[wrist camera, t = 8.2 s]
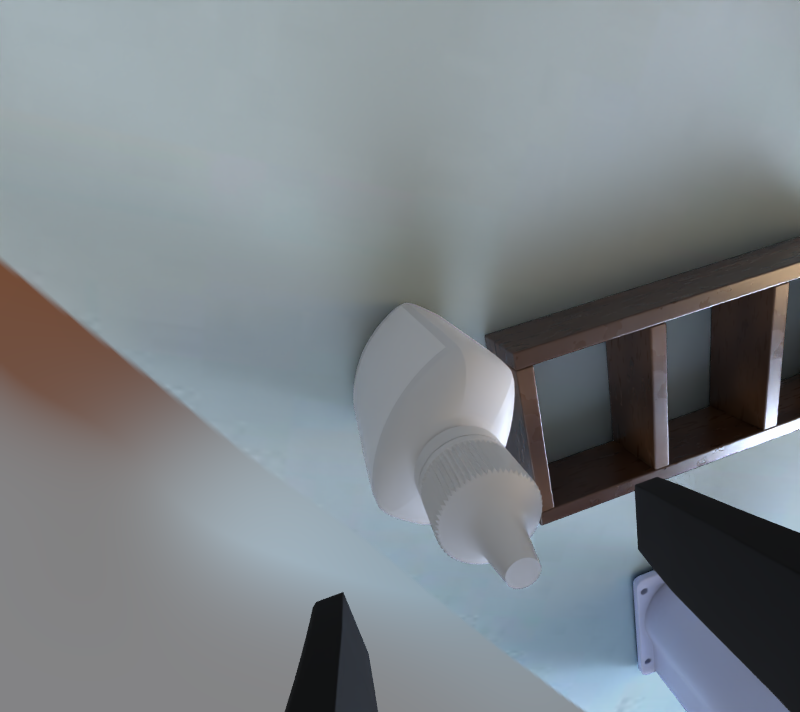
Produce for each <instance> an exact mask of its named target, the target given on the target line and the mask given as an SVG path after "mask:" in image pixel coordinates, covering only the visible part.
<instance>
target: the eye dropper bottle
mask: <svg viewBox="0 0 800 712" xmlns="http://www.w3.org/2000/svg"><path fill="white" fill-rule="evenodd" d="M514 397H515V387H514V379H513V375H512V372H511V370H510V369H509V367H508V366H507V365H506V364H505V363H504V362H503V361H502V360H501V359H499V358H498V357H497V356H495V355H494V354H493V353H492V352H490V351H489V350H488V349H486V348H485V347H483V346H482V345H481V344H479V343H478V342H476V341H475V340H474V339H472V338H471V337H469V336H468V335H467V334H465V333H464V332H462V331H461V330H460V329H458V328H457V327H455V326H454V325H452V324H451V323H450V322H448V321H447V320H445V319H444V318H442V317H441V316H439V315H437V314H435V313H433V312H431V311H429V310H427V309H425V308H423V307H420V306H418V305H416V304H413V303H403V304H401V305H399V306H397V307H396V308H395V309H394V310H393V311H392V312H390V313H389V314H388V315H387V316H386V318H385V319H384V320H383V321H382V322H381V323H380V324H379V326H378V327H377V328H376V330H375V331H374V332H373V334H372V335H371V337H370V338H369V340H368V342H367V344H366V346H365V348H364V350H363V352H362V355H361V357H360V360H359V363H358V366H357V370H356V375H355V380H354V389H353V405H354V411H355V415H356V420H357V425H358V430H359V435H360V440H361V444H362V449H363V454H364V458H365V463H366V468H367V472H368V476H369V480H370V484H371V488H372V492H373V495H374V498H375V500H376V502H377V504H378V506H379V508H380V509H381V510H382V511H384V512H385V513H386V514H388V515H390V516H392V517H395V518H397V519H401V520H404V521H408V522H412V523H416V524H422V525H430V524H431V526H432V529H433V531H434V534H435V537H436V539H437V541H438V544H439V545H440V546H441V548H442V549H443V550H444V552H446V553H447V554H448V555H449V556H451V558H454V559H456V560H458V561H460V562H464V563H468V564H488V563H490V564H491V566H492V567H493V568H494V569H495V570H496V572H497V573H498V574H499V575H500V576H501V578H502V579H503V580H504V581H505V582H506V584H507V585H508V586H509V587H511V588H513V589H523V588H526V587H528V586H530V585H532V584H533V583H534V582H535V581H536V580H537V579H538V578H539V576H540V574H541V564H540V561H539V559H538V557H537V554H536V552H535V549H534V547H533V544H532V542H531V540H530V538H531V537H532V535H533V534H534V532H535V530H536V528H537V526H538V524H539V521H540V518H541V514H542V506H543V505H542V501H543V500H542V499H541V498H542V496H541V494H540V490H539V489H538V486H537V485H536V483H535V482H534V480H533V479H532V478H531V477H530V476H529V475H528V473H527V472H526V471H525V470H524V469H523V468H522V466H521V465H520V464H519V463H518V462H517V461H516V459H515V458H514V457H513V456H512V455H511V454H510V452H509V451H508V450H507V449H506V448H505V447H506V444H507V440H508V436H509V433H510V428H511V423H512V417H513V410H514Z"/></svg>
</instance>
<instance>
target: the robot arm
mask: <svg viewBox="0 0 800 712" xmlns="http://www.w3.org/2000/svg"><path fill="white" fill-rule="evenodd" d="M635 501H636V520H637V538H638V550H639V551H640V552H641V554H642V555H643V556H644V557H645V559H646V560H647V561H648V562H649V564H650V565H651V566H652V568H653V569H654V570H653V571H650V572H648V573H645V574H643V575H640V576H638V577H636V578H635V580H634V581H633V591H634V606H635V622H636V637H637V653H638V668H639V670H640V671H641V673H642V674H644V675H648V674H650V673H653V672H655V671H656V672H657V673H658V675H659V676H660V677H661V679H662V680H663V681H664V683H665V684H666V685H667V687H668V688H669V689H670V690H671V692H672V693H673V694H674V696H675V697H676V698H677V700H678V701H679V702H680V703H681V705H682V706H683V707H684V709H685V710H686V711H687V712H800V533H799V532H796V531H793V530H791V529H788V528H785V527H783V526H780V525H778V524H775V523H772V522H770V521H767V520H765V519H762V518H760V517H757V516H755V515H752V514H750V513H747V512H745V511H742V510H740V509H737V508H735V507H732V506H730V505H727V504H725V503H722V502H720V501H717V500H715V499H712V498H710V497H708V496H705V495H703V494H700V493H698V492H695V491H693V490H690V489H688V488H685V487H683V486H680V485H678V484H675V483H673V482H670V481H668V480H665V479H662V478H660V477H655V478H652V479H649V480H647V481H644V482H641V483H639V484H636V485H635ZM285 712H378V710H377V703H376V697H375V690H374V683H373V678H372V672H371V666H370V660H369V654H368V651H367V649H366V646H365V644H364V642H363V639H362V637H361V634H360V632H359V630H358V627H357V625H356V622H355V620H354V617H353V615H352V613H351V610H350V608H349V605H348V603H347V601H346V598H345V595H344V593H340V594H337V595H334V596H331V597H329V598H326V599H323V600H321V601H318V602H316V603H315V605H314V607H313V610H312V614H311V618H310V623H309V627H308V631H307V635H306V639H305V643H304V647H303V651H302V655H301V658H300V662H299V666H298V669H297V673H296V676H295V680H294V683H293V686H292V690H291V693H290V696H289V700H288V703H287V706H286V710H285Z"/></svg>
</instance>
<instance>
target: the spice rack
mask: <svg viewBox="0 0 800 712" xmlns="http://www.w3.org/2000/svg"><path fill="white" fill-rule="evenodd" d="M798 278H800V237H797V238H793V239H790V240H787V241H784V242H781V243H777V244H774V245H771V246H768V247H765V248H762V249H758V250H755V251H752V252H749V253H746V254H742V255H739V256H736V257H733V258H730V259H726V260H723V261H720V262H717V263H714V264H711V265H707V266H704V267H701V268H698V269H695V270H691V271H688V272H685V273H682V274H679V275H675V276H672V277H669V278H666V279H663V280H660V281H656V282H653V283H650V284H647V285H644V286H640V287H637V288H634V289H631V290H628V291H624V292H621V293H618V294H615V295H612V296H609V297H605V298H602V299H599V300H596V301H593V302H589V303H586V304H583V305H580V306H577V307H573V308H570V309H567V310H564V311H561V312H558V313H554V314H551V315H548V316H545V317H542V318H538V319H535V320H532V321H529V322H526V323H522V324H519V325H516V326H513V327H510V328H507V329H503V330H500V331H497V332H494V333H491V334H487V335H485V341H486V346H487V349H488V350H489V351H490V352H492V353H493V354H494V355H495V356H497V357H498V358H499V359H501V360H502V361H503V362H504V363H505V364H506V365H507V366H508V367H509V369H510V370H511V372H512V375H513V379H514V387H515V397H514V410H513V417H512V423H511V428H510V433H509V436H508V440H507V444H506V447H505V448H506V449H507V450H508V451H509V452H510V454H511V455H512V456H513V457H514V458H515V459H516V461H517V462H518V463H519V464H520V465H521V466H522V468H523V469H524V470H525V471H526V472H527V473H528V475H529V476H530V477H531V478H532V479H533V480H534V482H535V483H536V485H537V486H538V489H539V490H540V494H541V496H542V498H541V499H542V500H543V501H542V505H543V506H542V514H541V518H540V521H539V523H540V524H541V525H545V524H547V523H550V522H553V521H555V520H558V519H561V518H564V517H566V516H569V515H572V514H574V513H577V512H580V511H582V510H585V509H588V508H590V507H593V506H596V505H598V504H601V503H604V502H606V501H609V500H612V499H614V498H617V497H620V496H622V495H625V494H628V493H630V492H633V491H635V485H636V484H639V483H641V482H644V481H647V480H649V479H652V478H655V477H660V478H662V479H668V478H671V477H673V476H676V475H679V474H681V473H684V472H687V471H689V470H692V469H695V468H697V467H700V466H703V465H705V464H708V463H711V462H713V461H716V460H719V459H721V458H724V457H727V456H729V455H732V454H735V453H737V452H740V451H743V450H745V449H748V448H751V447H753V446H756V445H759V444H761V443H764V442H767V441H769V440H772V439H775V438H778V437H780V436H783V435H786V434H788V433H791V432H794V431H796V430H799V429H800V374H799V375H796V376H793V377H790V378H788V379H785V380H782V381H781V371H782V360H783V349H784V338H785V327H786V316H787V305H788V294H789V281H792V280H795V279H798ZM709 307H712V321H711V365H710V406H709V407H706V408H704V409H701V410H698V411H695V412H692V413H690V414H687V415H684V416H681V417H678V418H676V419H673V420H670V421H668V392H667V338H666V323H665V322H666V321H669V320H672V319H675V318H678V317H682V316H685V315H688V314H691V313H694V312H697V311H700V310H703V309H706V308H709ZM605 341H606V350H607V363H608V377H609V390H610V403H611V417H612V430H613V440H614V441H611V442H608V443H605V444H603V445H600V446H597V447H594V448H591V449H589V450H586V451H583V452H580V453H577V454H575V455H572V456H569V457H566V458H563V459H561V460H558V461H555V462H552V463H549V464H548V462H547V455H546V449H545V442H544V435H543V428H542V421H541V414H540V408H539V401H538V394H537V387H536V380H535V373H534V367H533V365H535V364H538V363H541V362H544V361H547V360H550V359H553V358H556V357H559V356H562V355H565V354H568V353H571V352H574V351H577V350H581V349H584V348H587V347H590V346H593V345H596V344H599V343H602V342H605Z"/></svg>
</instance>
